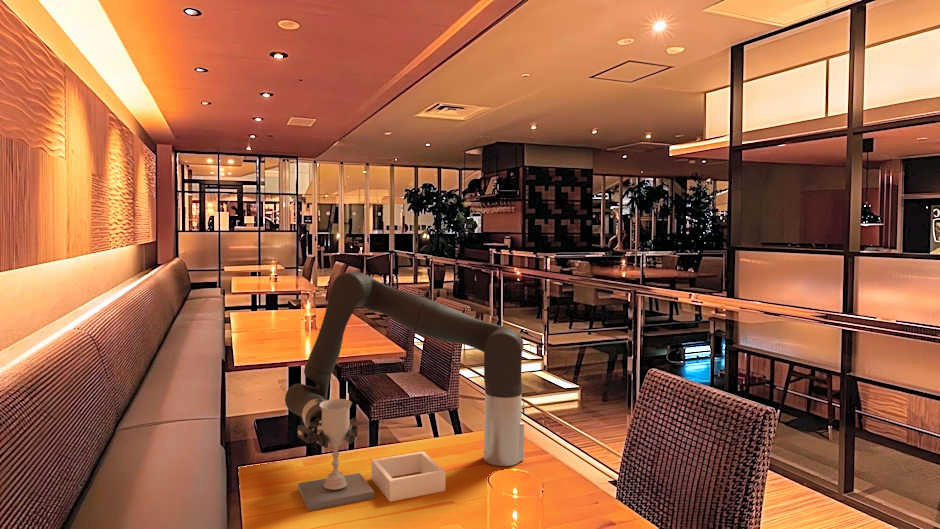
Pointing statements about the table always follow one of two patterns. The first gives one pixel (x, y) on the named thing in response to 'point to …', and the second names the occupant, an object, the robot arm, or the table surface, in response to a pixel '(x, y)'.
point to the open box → (408, 485)
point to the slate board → (335, 492)
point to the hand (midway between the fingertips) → (338, 441)
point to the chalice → (335, 435)
